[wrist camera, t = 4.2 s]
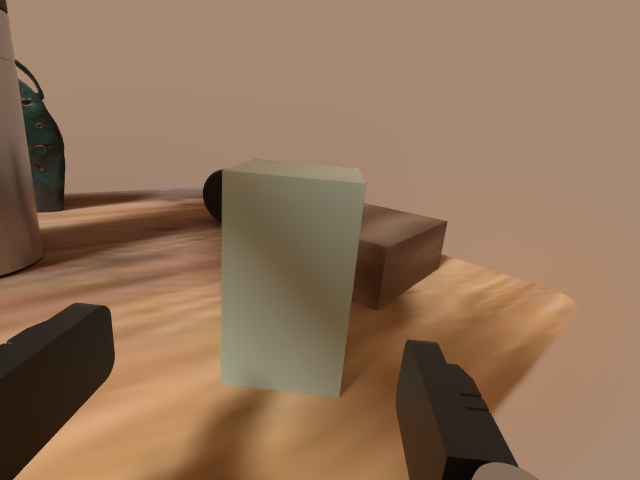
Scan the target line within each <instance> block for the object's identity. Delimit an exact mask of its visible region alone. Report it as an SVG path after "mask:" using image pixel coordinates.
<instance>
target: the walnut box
mask: <svg viewBox="0 0 640 480" xmlns="http://www.w3.org/2000/svg"><path fill="white" fill-rule="evenodd" d="M446 226H447V221H444V220H439V219H434V218H430V217H425V216H421V215H416V214H411V213H407V212H402V211H398V210H393V209H388V208H384V207H379V206H375V205H370V204H366V203H364V204H363V212H362V220H361V228H360V236H359V245H358V253H357V261H356V269H355V277H354V285H353V293H352V300H354V301H356V302H359V303H361V304H364V305H366V306H369V307H371V308H374V309H376V310H379V309H380V308H381V307H383V306H384V305H386V304H387V303H389V302H390V301H392V300H393V299H395V298H396V297H397V296H399V295H400V294H402V293H403V292H405V291H406V290H408V289H409V288H411V287H412V286H413V285H415V284H416V283H418V282H419V281H421V280H422V279H424V278H425V277H427V276H428V275H429V274H431V273H432V272H434V271H435V270H437V269H438V267H439V262H440V257H441V251H442V247H443V241H444V236H445V231H446Z"/></svg>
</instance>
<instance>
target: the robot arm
mask: <svg viewBox="0 0 640 480" xmlns="http://www.w3.org/2000/svg"><path fill="white" fill-rule="evenodd" d="M7 13H8V12H7V5H6V0H0V275H3V274H7V273H11V272H13V271H16V270H19V269H22V268H24V267H26V266H29V265H31V264H33V263H34V262H36V261H37V260H38V259H40V258H41V256H42V255H43V252H42V245H41V238H40V230H39V223H38V216H37V209H36V200H35V193H34V186H33V180H32V173H31V166H30V159H29V152H28V146H27V139H26V132H25V125H24V118H23V112H22V105H21V98H20V91H19V84H18V78H17V71H16V64H15V59H14V52H13V46H12V39H11V32H10V25H9V18H8V15H7ZM114 360H115V352H114V342H113V331H112V321H111V313H110V310H109V308H108V307H106V306H102V305H93V304H84V303H74V304H72V305H70V306H69V307H67V308H66V309H64V310H62V311H61V312H59V313H58V314H56V315H55V316H53V317H52V318H50V319H49V320H47V321H44V322H42V323H39V324H37V325H34V326H32V327H29V328H27V329H25V330H23V331H22V332H20V333H19V334H17V335H16V336H14V337H12V338H11V339H9V340H8V341H7V343H6V344H1V345H0V480H13V479H14V478H15V477H16V476H17V475H18V474H19V473H20V471H21V470H22V469H23V468H24V467H25V466H26V465H27V464H28V463H29V462H30V461H31V460H32V459H33V458H34V457H35V455H36V454H37V453H38V452H39V451H40V450H41V449H42V448H43V447H44V446H45V445H46V444H47V443H48V442H49V440H50V439H51V438H52V437H53V436H54V435H55V434H56V433H57V432H58V431H59V430H60V429H61V428H62V427H63V426H64V424H65V423H66V422H67V421H68V420H69V419H70V418H71V417H72V416H73V415H74V414H75V413H76V412H77V411H78V409H79V408H80V407H81V406H82V405H83V404H84V403H85V402H86V401H87V400H88V399H89V398H90V397H91V396H92V395H93V393H94V392H95V391H96V390H97V389H98V388H99V387H100V386H101V385H102V384H103V383H104V382H105V381H106V379H107V378H108V377H109V375H110V373H111V371H112V368H113V365H114ZM396 409H397V417H398V422H399V427H400V432H401V437H402V443H403V448H404V453H405V458H406V463H407V469H408V474H409V479H410V480H538V479H537V478H536V477H534V476H533V475H531V474H530V473H528V472H526V471H524V470H522V469H520V468H519V467H518V465H517V463H516V461H515V459H514V457H513V455H512V453H511V451H510V449H509V447H508V445H507V444H506V442H505V440H504V438H503V436H502V434H501V432H500V430H499V428H498V426H497V424H496V423H495V421H494V419H493V417H492V415H491V413H489V409H488V407H487V405H486V403H485V401H484V399H482V398H481V394H480V392H479V390H478V388H477V386H476V384H475V382H474V380H473V379H472V378H471V377H470V376H469V375H468V374H467V373H466V372H465V371H464V370H463V369H462V368H461V367H460V366H458V365H456V364H447V363H446V361H445V358H444V356H443V354H442V352H441V349H440V347H439V345H438V344H437V343H436V342H426V341H417V340H407V342H406V344H405V348H404V354H403V359H402V365H401V370H400V375H399V381H398V386H397V395H396Z"/></svg>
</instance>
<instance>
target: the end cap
mask: <svg viewBox="0 0 640 480" xmlns="http://www.w3.org/2000/svg"><path fill="white" fill-rule="evenodd" d="M222 170H224V169H222ZM222 170H218V171H216V172H214V173H213V174H211V175H210V176H209V177H208V179H207V180H206V182H205V184H204V188H203V200H204V203H205V206H206V208H207V210H208V211H209V212H210V214H211V215H212V216H213V217H215V218H216V219H217V220H218V221H220V222H221V223H222Z"/></svg>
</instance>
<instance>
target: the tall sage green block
mask: <svg viewBox="0 0 640 480" xmlns="http://www.w3.org/2000/svg"><path fill="white" fill-rule="evenodd" d="M365 188H366V183H365V181H364V178H363V176H362V174H361V172H360V169H356V168H345V167H334V166H323V165H314V164H303V163H293V162H282V161H270V160H261V159H253V160H251V161H248V162H245V163H242V164H239V165H236V166H233V167H230V168H227V169H224V170H222V275H221V385H228V386H237V387H246V388H255V389H264V390H273V391H282V392H291V393H300V394H309V395H317V396H326V397H335V398H339V397H340V389H341V381H342V373H343V365H344V357H345V349H346V341H347V333H348V325H349V317H350V309H351V301H352V293H353V285H354V277H355V269H356V261H357V253H358V245H359V236H360V228H361V220H362V212H363V204H364V196H365Z"/></svg>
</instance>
